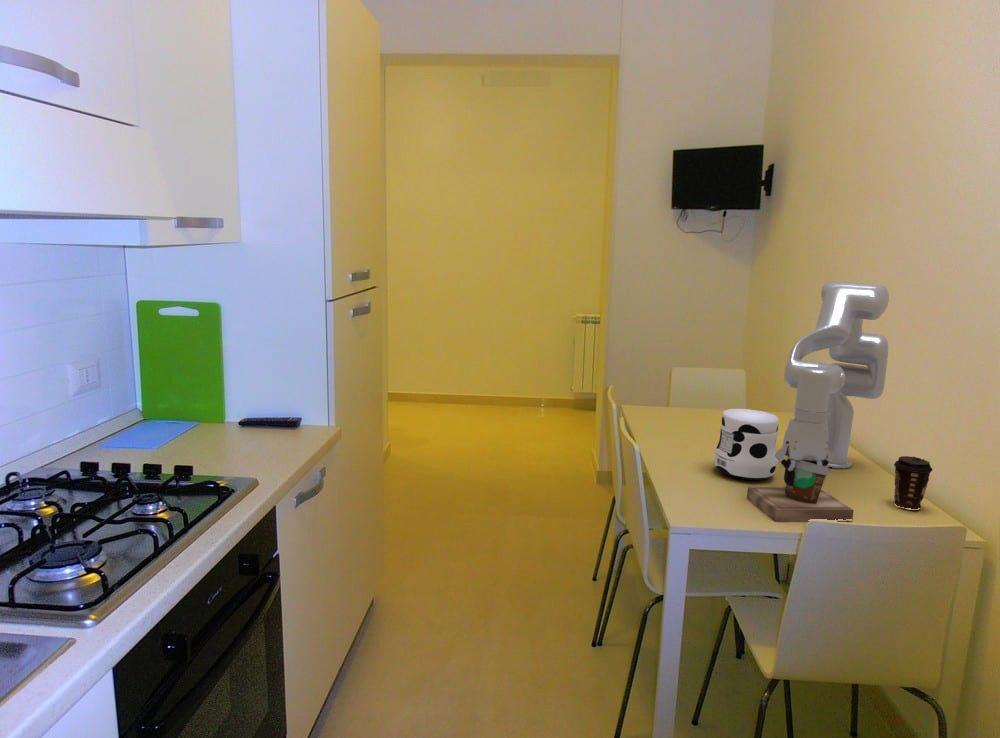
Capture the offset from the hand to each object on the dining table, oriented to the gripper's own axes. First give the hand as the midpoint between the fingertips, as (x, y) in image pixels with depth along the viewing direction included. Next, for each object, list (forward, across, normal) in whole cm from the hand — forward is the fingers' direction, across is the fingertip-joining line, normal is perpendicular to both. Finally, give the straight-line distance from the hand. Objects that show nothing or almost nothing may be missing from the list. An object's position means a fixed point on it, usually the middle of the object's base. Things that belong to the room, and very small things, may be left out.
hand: (801, 483), depth 186 cm
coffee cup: (+7, -32, -2) cm, 33 cm away
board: (+7, 0, 0) cm, 7 cm away
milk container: (+7, +2, -27) cm, 28 cm away
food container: (+3, +1, 0) cm, 4 cm away
